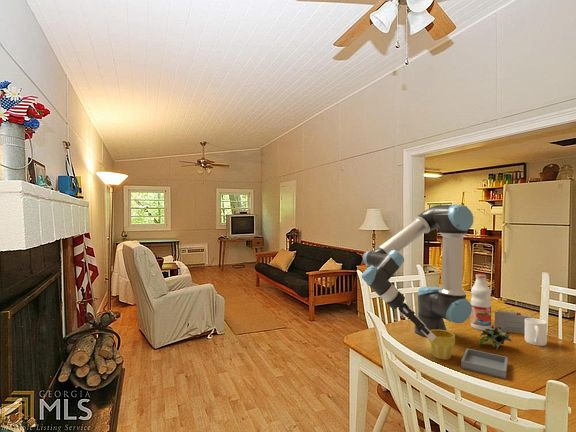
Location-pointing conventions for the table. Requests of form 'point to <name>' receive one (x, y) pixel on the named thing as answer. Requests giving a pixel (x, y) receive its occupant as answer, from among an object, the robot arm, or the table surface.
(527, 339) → the mug
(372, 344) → the table surface
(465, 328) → the table surface
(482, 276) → the fruit juice
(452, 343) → the plant pot
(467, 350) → the tray
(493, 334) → the green leafy plant
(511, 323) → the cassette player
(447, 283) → the robot arm
